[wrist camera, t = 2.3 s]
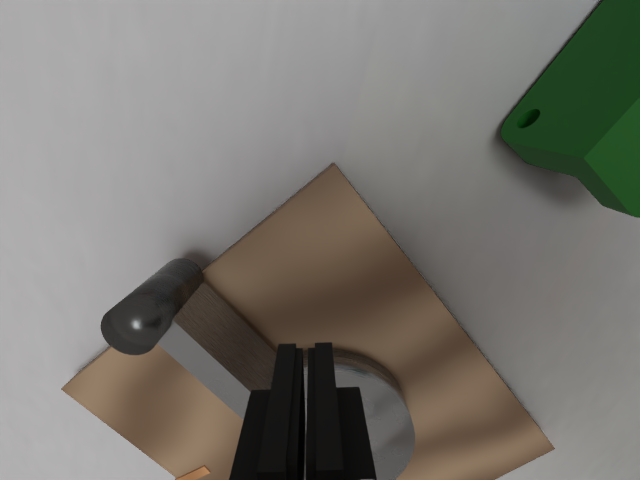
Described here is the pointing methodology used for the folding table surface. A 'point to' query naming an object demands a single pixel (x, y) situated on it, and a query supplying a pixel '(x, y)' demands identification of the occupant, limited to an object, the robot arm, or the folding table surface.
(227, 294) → the stand base
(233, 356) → the crank wheel
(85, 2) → the folding table surface
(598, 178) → the clamp
